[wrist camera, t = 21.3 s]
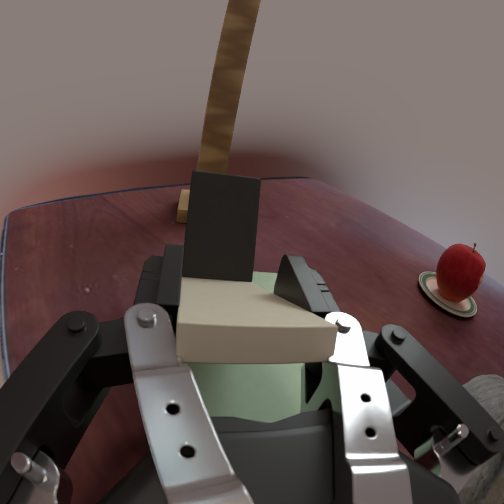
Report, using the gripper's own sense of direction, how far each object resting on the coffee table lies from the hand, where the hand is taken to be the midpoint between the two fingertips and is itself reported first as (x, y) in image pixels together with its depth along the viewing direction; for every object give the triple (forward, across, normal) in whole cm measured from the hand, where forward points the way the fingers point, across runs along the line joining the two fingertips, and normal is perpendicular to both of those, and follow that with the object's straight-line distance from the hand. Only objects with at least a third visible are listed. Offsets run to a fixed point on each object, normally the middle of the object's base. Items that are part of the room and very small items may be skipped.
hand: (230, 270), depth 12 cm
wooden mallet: (0, 0, +2) cm, 2 cm away
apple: (+7, -25, +7) cm, 27 cm away
